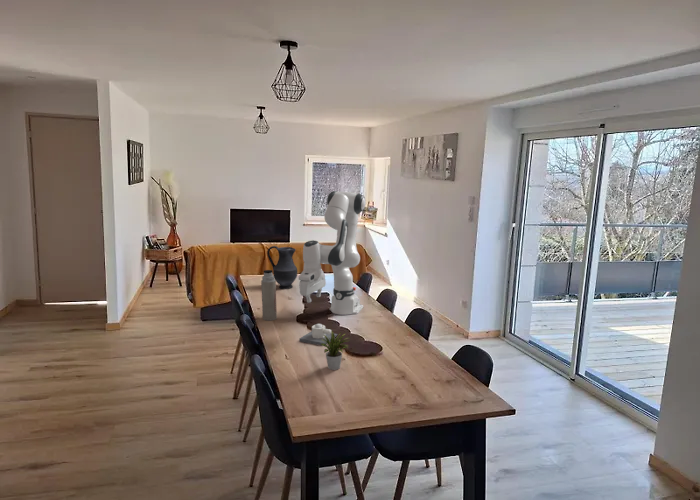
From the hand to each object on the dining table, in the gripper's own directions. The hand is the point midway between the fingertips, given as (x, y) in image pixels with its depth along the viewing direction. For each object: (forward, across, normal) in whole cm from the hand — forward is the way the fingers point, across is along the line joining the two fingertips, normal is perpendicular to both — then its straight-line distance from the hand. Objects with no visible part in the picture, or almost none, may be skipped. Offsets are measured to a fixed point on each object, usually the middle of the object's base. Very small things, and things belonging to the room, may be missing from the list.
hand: (313, 299), depth 247 cm
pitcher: (+20, -73, -70) cm, 103 cm away
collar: (+17, +5, +6) cm, 19 cm away
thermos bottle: (+19, -12, -37) cm, 44 cm away
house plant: (+19, +33, +28) cm, 47 cm away
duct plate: (+19, +5, +4) cm, 20 cm away
